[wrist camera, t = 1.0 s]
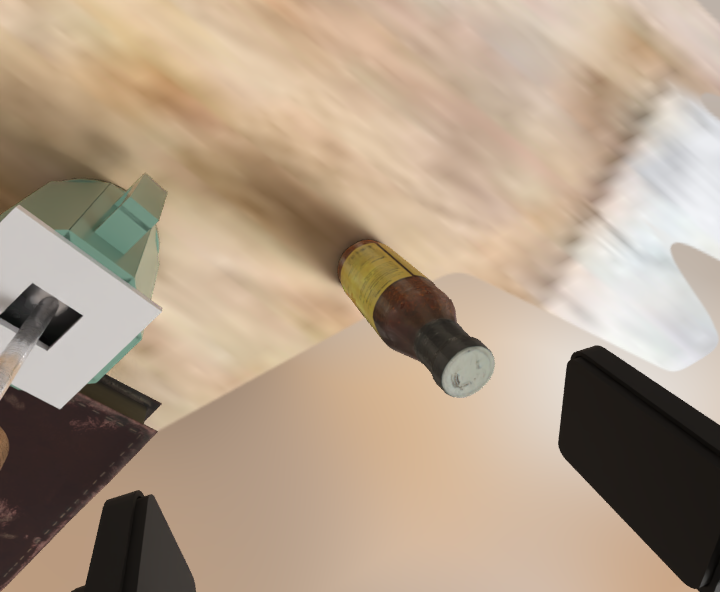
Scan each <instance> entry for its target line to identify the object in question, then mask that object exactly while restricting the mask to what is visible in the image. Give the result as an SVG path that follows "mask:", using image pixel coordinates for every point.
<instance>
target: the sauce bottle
mask: <svg viewBox="0 0 720 592" xmlns="http://www.w3.org/2000/svg"><path fill="white" fill-rule="evenodd" d="M338 277H339V280H340V282H341V284H342V287H343V289H344V291H345V293H346V294H347V295H348V296H349V298H350V299H351V300H352V302H353V303H354V304H355V305H356V307H357V308H358V309H359V311H360V312H361V313H362V315H363V316H364V317H365V318H366V319H367V321H368V322H369V323H370V325H371V326H372V327H373V328H374V330H375V331H376V332H377V334H378V335H379V336H380V337H381V339H382V340H383V341H384V342H385V343H386V344H387V345H388V346H389V347H390V348H392V349H393V350H395V351H397V352H400V353H402V354H404V355H406V356H409V357H411V358H413V359H416V360H418V361H420V362H421V363H423V364H424V365H425V366H426V367H427V369H428V370H429V371H430V372H431V374H432V376H433V379H434V380H435V382H436V384H437V385H438V386H439V387H440V388H441V389H442V390H443V391H444V392H445V393H446V394H448V395H450V396H452V397H457V398H464V397H467V396H470V395H472V394H474V393H476V392H477V391H479V390H480V389H481V388H482V387H483V386H484V385H485V384H486V383H487V382H488V381H489V380H490V378H491V376H492V374H493V371H494V365H495V362H494V357H493V354H492V353H491V351H490V350H489V349H488V348H487V347H486V346H485V345H484V344H483V343H481V341H479V340H478V339H476V338H473V337H470V336H469V335H468V334H467V333H466V332H465V331H464V330H463V329H462V327H460V326H459V324H458V323H457V320H456V313H455V308H454V305H453V303H452V301H451V299H449V298H448V297H447V295H446V294H445V293H443V292H442V291H441V290H440V289H438V288H437V287H436V286H435V284H434V283H433V282H432V281H431V280H429V279H428V278H427V277H426V276H424V275H423V274H422V273H421V272H419V271H418V270H417V269H416V268H414V267H413V266H412V265H411V264H409V263H408V262H407V261H406V260H404V259H403V258H402V257H401V256H399V255H398V254H397V253H396V252H394V251H393V250H392V249H391V248H389V247H388V246H386V245H384V244H381V243H379V242H377V241H373V240H363V241H360V242H357V243H356V244H354V245H352V246H350V247H349V248H348V249H347V250H346V251H345V252H344V253H343V255H342V257H341V259H340V261H339V265H338Z"/></svg>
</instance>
